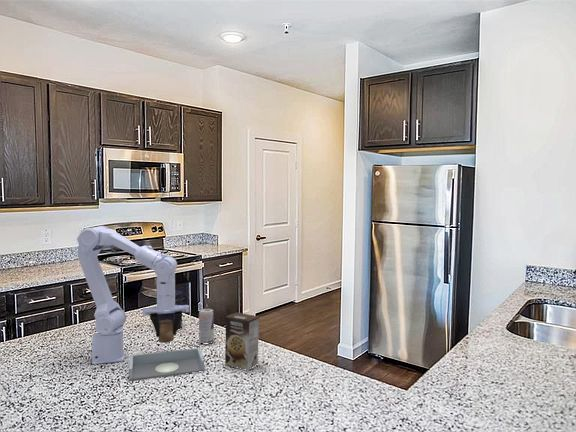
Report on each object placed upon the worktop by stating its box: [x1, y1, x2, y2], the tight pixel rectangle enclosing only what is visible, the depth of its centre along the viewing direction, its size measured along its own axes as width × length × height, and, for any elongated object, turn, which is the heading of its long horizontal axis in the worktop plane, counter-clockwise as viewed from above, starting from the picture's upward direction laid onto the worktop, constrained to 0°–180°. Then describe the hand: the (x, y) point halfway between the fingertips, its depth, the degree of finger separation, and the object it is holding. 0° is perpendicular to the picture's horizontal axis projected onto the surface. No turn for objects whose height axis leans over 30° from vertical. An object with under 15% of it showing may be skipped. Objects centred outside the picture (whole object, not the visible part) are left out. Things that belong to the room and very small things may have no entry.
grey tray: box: [128, 347, 205, 382], centre depth 130 cm, size 22×11×4 cm, turn 109°
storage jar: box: [158, 289, 183, 330], centre depth 168 cm, size 10×10×15 cm
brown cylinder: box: [157, 320, 175, 343], centre depth 136 cm, size 5×5×6 cm
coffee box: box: [224, 312, 260, 371], centre depth 133 cm, size 9×6×16 cm
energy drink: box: [198, 308, 215, 344], centre depth 153 cm, size 5×5×12 cm
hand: (166, 335), depth 136 cm, fingers closed on brown cylinder, 5 cm apart
